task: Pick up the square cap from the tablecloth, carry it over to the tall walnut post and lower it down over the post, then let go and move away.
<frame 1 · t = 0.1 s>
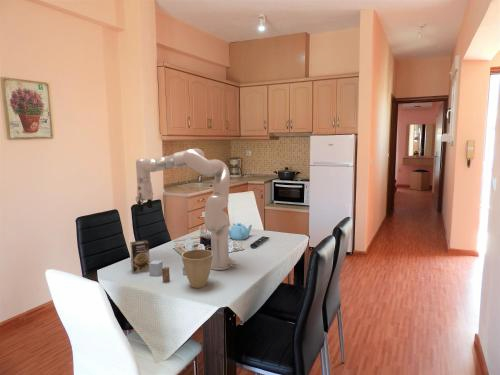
hand: (145, 209, 211), 31 cm above the table, tool pointing down, fingers open, 9 cm apart
coffee box: (141, 270, 200), on the table
plant pot: (198, 285, 178), on the table
teapot: (239, 238, 261), on the table
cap: (156, 274, 194), on the table
post: (166, 281, 184), on the table
short post: (186, 274, 193), on the table
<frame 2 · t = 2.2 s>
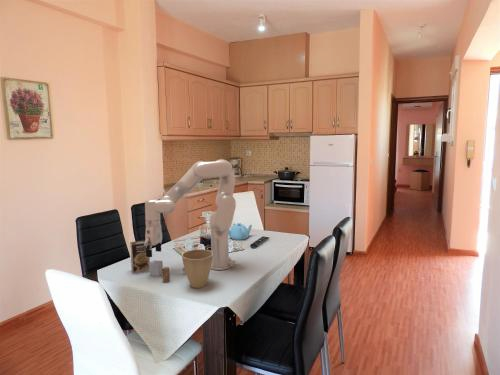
hand: (153, 254, 192), 11 cm above the table, tool pointing down, fingers open, 9 cm apart
nothing on the table moved.
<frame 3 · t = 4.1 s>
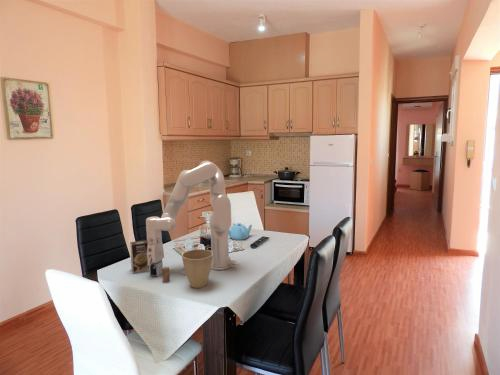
hand: (156, 272, 194), 1 cm above the table, tool pointing down, fingers closed on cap, 5 cm apart
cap: (156, 274, 194), on the table, touching gripper
everything else where it was.
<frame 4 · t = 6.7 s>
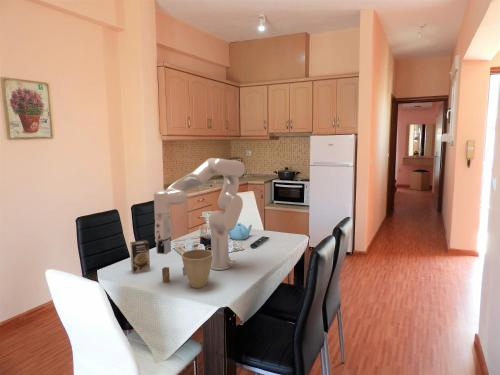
hand: (163, 250, 181), 16 cm above the table, tool pointing down, fingers closed on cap, 5 cm apart
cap: (163, 252, 182), point 15 cm above the table, touching gripper
everything else where it was.
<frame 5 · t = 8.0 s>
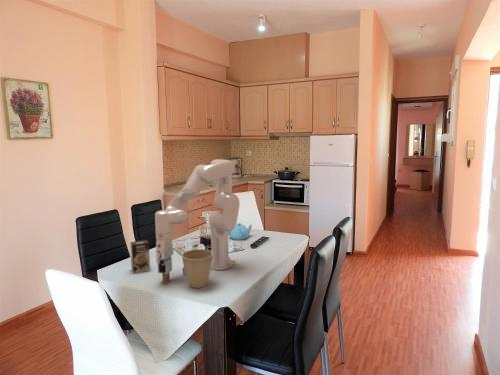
hand: (165, 270, 183), 6 cm above the table, tool pointing down, fingers closed on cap, 5 cm apart
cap: (165, 271, 183), point 5 cm above the table, touching gripper
everything else where it was.
when the fingers open (3 cm above the table, at t = 9.3 s): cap drops 2 cm, resting on post.
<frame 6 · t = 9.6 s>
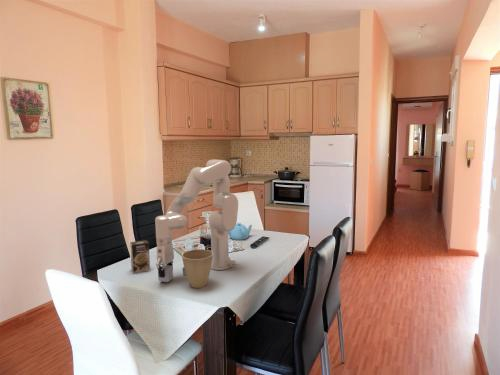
hand: (165, 273, 183), 4 cm above the table, tool pointing down, fingers open, 8 cm apart
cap: (166, 279, 184), point 1 cm above the table, touching post
everything else where it was.
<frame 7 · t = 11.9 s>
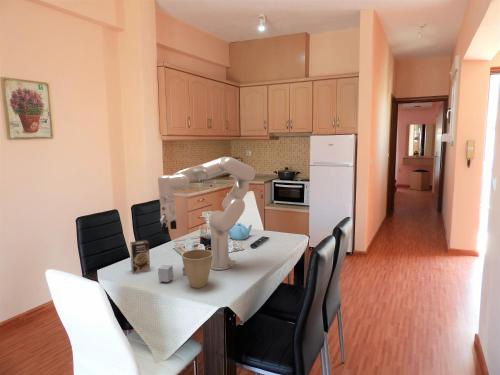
hand: (169, 231, 189), 24 cm above the table, tool pointing down, fingers open, 9 cm apart
nothing on the table moved.
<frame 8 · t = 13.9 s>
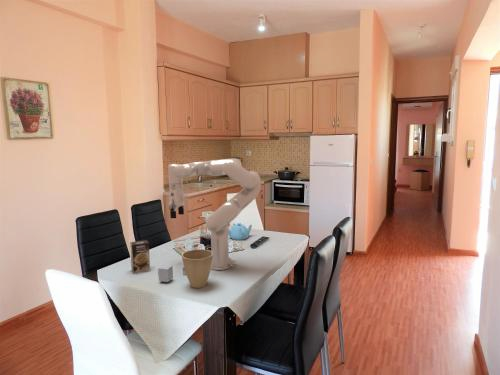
hand: (177, 216, 204), 28 cm above the table, tool pointing down, fingers open, 9 cm apart
nothing on the table moved.
at the end: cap 0.1 cm from the post (horizontally); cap point 1.0 cm above the table; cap tilted 0° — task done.
